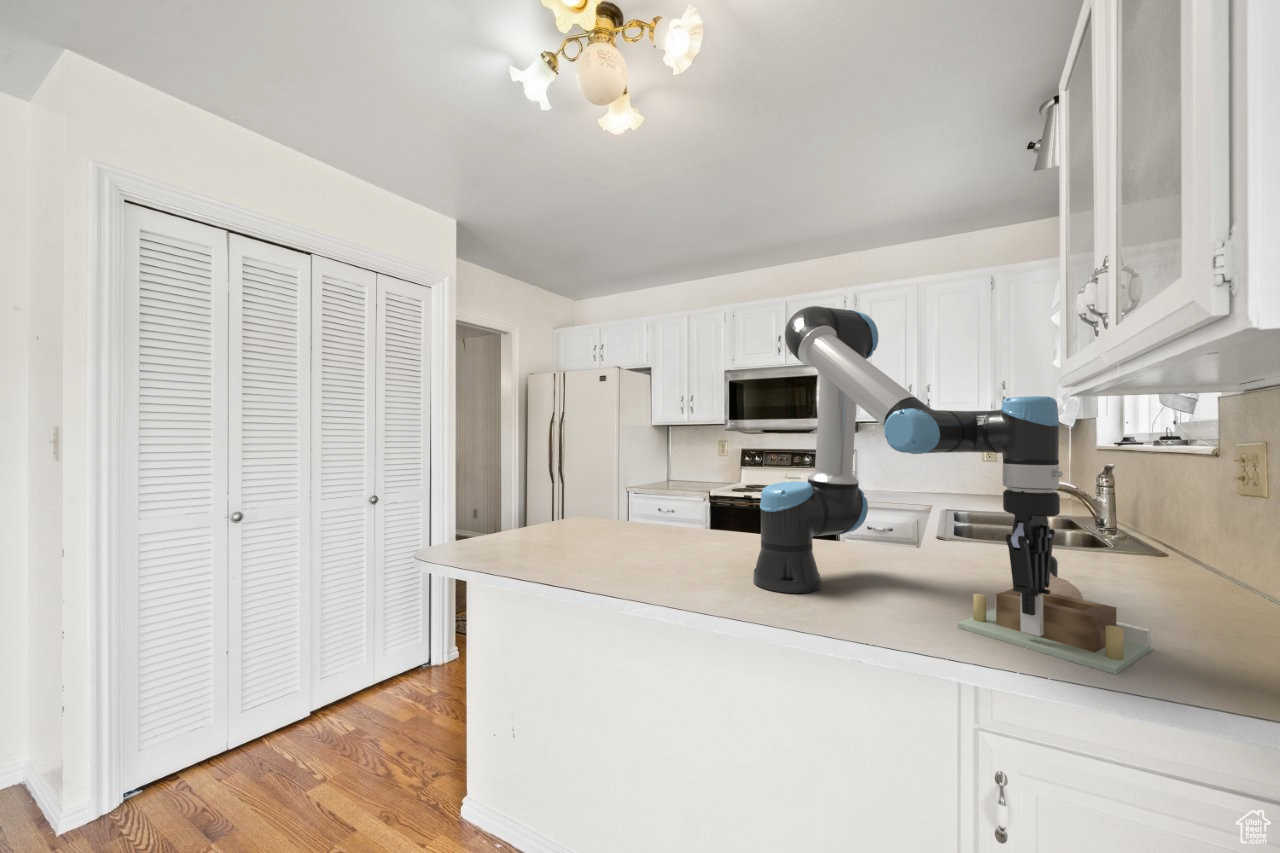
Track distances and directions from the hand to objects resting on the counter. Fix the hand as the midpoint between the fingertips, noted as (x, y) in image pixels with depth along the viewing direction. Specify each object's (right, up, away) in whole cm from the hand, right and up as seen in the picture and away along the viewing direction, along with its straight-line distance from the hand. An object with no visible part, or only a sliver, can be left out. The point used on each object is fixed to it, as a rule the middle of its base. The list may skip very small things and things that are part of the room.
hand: (1031, 632), depth 86 cm
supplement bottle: (+20, -3, +25) cm, 32 cm away
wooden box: (+7, -1, +4) cm, 8 cm away
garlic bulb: (+18, -3, +17) cm, 25 cm away
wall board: (+5, -2, +3) cm, 7 cm away
